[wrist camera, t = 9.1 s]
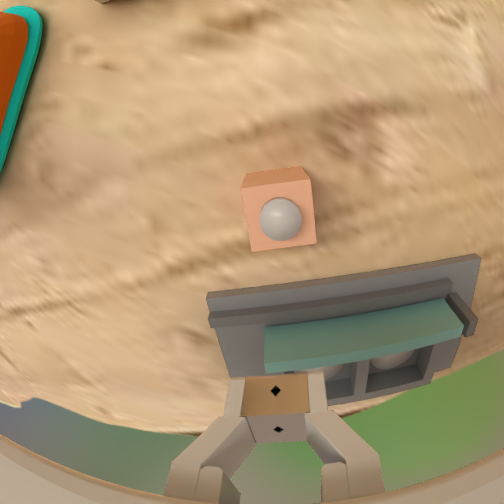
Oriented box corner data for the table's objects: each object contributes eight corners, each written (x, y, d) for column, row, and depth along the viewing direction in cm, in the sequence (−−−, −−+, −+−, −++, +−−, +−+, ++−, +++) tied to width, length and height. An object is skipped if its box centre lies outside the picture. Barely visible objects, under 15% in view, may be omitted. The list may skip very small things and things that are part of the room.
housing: (475, 253, 23) (508, 283, 18) (447, 362, 29) (465, 395, 24) (207, 292, 26) (194, 335, 20) (240, 397, 32) (236, 438, 27)
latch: (442, 297, 23) (464, 325, 19) (440, 308, 24) (460, 336, 20) (264, 327, 25) (263, 363, 21) (266, 337, 26) (266, 373, 22)
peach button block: (300, 166, 21) (312, 182, 16) (306, 217, 23) (318, 248, 17) (246, 173, 21) (239, 191, 16) (254, 224, 23) (251, 257, 18)
